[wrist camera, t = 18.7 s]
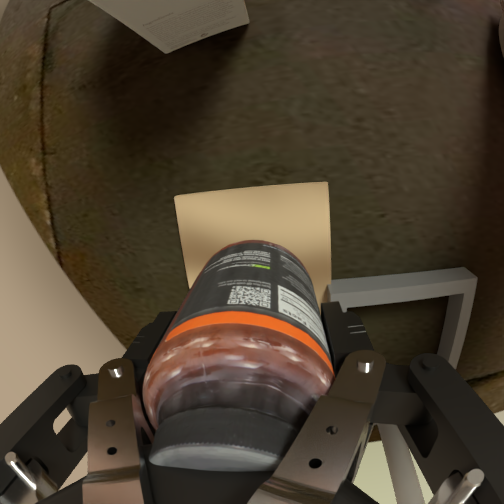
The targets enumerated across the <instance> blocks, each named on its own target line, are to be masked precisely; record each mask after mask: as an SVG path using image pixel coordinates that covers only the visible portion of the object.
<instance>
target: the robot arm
mask: <svg viewBox="0 0 504 504" xmlns="http://www.w3.org/2000/svg"><path fill="white" fill-rule="evenodd" d="M500 3H501V6H502V10H503V13H502V16H501V19H500V21H499V40H500V45H501V50H502V54H503V57H504V0H500ZM176 313H177V311H173V312H160V313H159V314H158V316H157V317H156V319H155V320H154V322H153V323H149V324H148V325H146V326H145V327H144V328H142V329H141V331H140V332H139V334H138V335H137V337H136V338H135V339H134V341H133V343H132V344H131V345H130V347H129V348H128V349H127V351H126V352H125V354H124V355H123V357H122V358H118V359H113V360H111V361H108V362H107V363H105V364H104V365H103V366H102V367H101V368H100V370H99V373H98V374H90V375H83V373H82V371H81V368H80V367H79V366H77V365H65V366H63V367H60V368H59V369H57V370H56V371H55V372H54V373H53V374H51V375H50V376H49V377H48V378H47V379H46V380H45V381H44V382H43V383H42V384H41V385H40V386H39V387H38V388H37V389H36V390H35V391H34V392H33V393H32V394H30V396H28V397H27V398H26V399H25V400H24V401H23V402H22V403H21V404H20V405H19V406H18V407H17V408H16V409H15V410H14V411H13V412H12V413H11V414H10V415H9V416H8V417H7V418H6V419H5V420H4V421H3V422H2V423H1V424H0V504H379V503H378V502H376V501H375V500H373V499H372V498H371V497H370V496H368V495H367V494H366V493H364V492H363V491H362V490H360V489H359V488H358V487H357V486H355V485H354V484H353V482H354V479H355V477H356V474H357V471H358V468H359V465H360V462H361V459H362V457H363V454H364V451H365V448H366V446H367V443H368V441H369V438H370V435H371V432H372V429H373V426H374V423H380V424H393V425H397V427H398V429H399V431H400V433H401V434H402V436H403V438H404V440H405V442H406V443H407V445H408V447H409V449H410V451H411V453H412V454H413V456H414V458H415V460H416V462H417V464H418V466H419V468H420V469H421V471H422V473H423V475H424V477H425V479H426V481H427V483H428V485H429V486H430V489H431V491H432V493H433V494H434V496H433V498H432V499H431V500H430V502H429V503H428V504H504V426H503V425H502V423H501V422H500V421H499V420H498V419H497V417H496V416H495V415H494V414H493V413H492V411H491V410H490V409H489V408H488V407H487V405H486V404H485V403H484V402H483V401H482V399H481V398H480V397H479V396H478V395H477V394H476V393H475V391H474V390H473V389H472V388H471V387H470V386H469V385H468V383H467V382H466V381H465V380H464V379H463V378H462V377H461V375H460V374H459V373H458V372H457V371H456V370H455V369H454V368H453V367H452V365H451V364H450V363H449V362H448V361H447V360H446V359H445V358H443V357H442V356H440V355H437V354H432V353H424V354H420V355H417V356H416V357H414V358H413V359H412V360H411V363H410V366H405V365H393V364H389V363H386V360H385V358H384V357H383V356H382V355H381V354H380V353H378V352H376V351H374V349H373V346H372V344H371V342H370V339H369V337H368V335H367V332H366V330H365V328H364V326H363V323H362V321H361V319H360V317H359V316H358V315H356V314H355V313H354V312H343V311H342V308H341V306H340V303H339V301H334V302H323V303H321V319H322V323H323V327H324V331H325V335H326V339H327V343H328V347H329V352H330V356H331V360H332V364H333V371H334V374H335V381H334V383H333V385H332V387H331V389H330V391H329V393H328V395H325V394H322V395H321V396H320V397H319V399H318V401H317V402H316V404H315V406H314V408H313V410H312V411H311V413H310V415H309V417H308V419H307V420H306V422H305V424H304V425H303V427H302V429H301V431H300V432H299V434H298V436H297V437H296V439H295V441H294V442H293V444H292V446H291V447H290V449H289V450H288V452H287V454H286V455H285V457H284V458H283V460H282V461H281V463H280V465H279V466H278V468H277V469H276V471H209V470H197V469H189V468H179V467H169V466H160V465H155V464H153V463H151V462H150V461H149V455H150V452H151V449H152V446H153V442H154V436H155V433H156V430H155V429H154V427H153V426H152V424H151V423H150V420H149V418H148V416H147V414H146V410H145V407H144V402H143V382H144V377H145V373H146V371H147V368H148V365H149V363H150V361H151V359H152V357H153V355H154V353H155V351H156V349H157V347H158V345H159V343H160V341H161V340H162V338H163V336H164V334H165V333H166V331H167V329H168V327H169V326H170V324H171V322H172V320H173V318H174V317H175V315H176ZM65 408H67V410H68V411H69V413H70V415H71V416H72V418H71V419H70V420H69V421H68V422H67V424H66V425H65V426H64V427H63V428H62V430H61V431H60V432H59V433H58V434H57V435H56V433H55V432H54V430H53V423H54V420H55V419H56V418H57V417H58V416H59V415H60V413H61V412H62V411H63V410H64V409H65ZM87 451H88V474H87V476H85V477H83V478H81V479H80V480H78V481H76V482H74V483H72V484H70V485H69V486H67V487H65V488H63V489H61V490H59V489H60V487H61V486H62V485H63V483H64V482H65V480H66V479H67V478H68V477H69V475H70V474H71V472H72V471H73V470H74V469H75V467H76V466H77V464H78V463H79V462H80V460H81V459H82V458H83V456H84V455H85V454H86V452H87ZM58 490H59V491H58Z"/></svg>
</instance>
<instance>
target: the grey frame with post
mask: <svg viewBox="0 0 504 504" xmlns="http://www.w3.org/2000/svg"><path fill="white" fill-rule="evenodd" d="M477 279H478V278H477V277H476V276H475V275H474V274H472V273H471V272H470V271H469V270H467V269H466V268H465V267H459V268H451V269H442V270H433V271H424V272H414V273H404V274H394V275H384V276H373V277H362V278H350V279H338V280H331V284H327V302H334V301H339V303H340V306H341V308H342V311H343V312H347V308H349V307H359V306H369V305H378V304H387V303H396V302H404V301H412V300H420V299H427V298H435V297H442V296H448V295H449V300H448V306H447V311H446V316H445V321H444V326H443V331H442V335H441V340H440V344H439V348H438V352H437V355H440V356H442V357H443V358H445V359H446V360H447V361H448V362H449V363H450V364H451V365H452V367H453V368H454V369H455V370H456V367H457V363H458V360H459V357H460V353H461V350H462V346H463V343H464V339H465V335H466V331H467V327H468V323H469V319H470V315H471V310H472V306H473V301H474V296H475V290H476V285H477ZM374 425H378V429H379V432H380V436H381V440H382V443H383V447H384V451H385V455H386V458H387V463H388V466H389V470H390V475H391V479H392V483H393V487H394V491H395V496H396V500H397V504H425V501H424V498H423V494H422V491H421V487H420V484H419V480H418V477H417V474H416V470H415V467H414V464H413V461H412V458H411V455H410V451H409V448H408V445H407V443H406V442H405V440H404V438H403V436H402V434H401V433H400V431H399V429H398V427H397V425H393V424H380V423H374Z"/></svg>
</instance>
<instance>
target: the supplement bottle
mask: <svg viewBox="0 0 504 504" xmlns="http://www.w3.org/2000/svg"><path fill="white" fill-rule="evenodd" d="M334 381H335V374H334V371H333V364H332V360H331V356H330V352H329V347H328V343H327V339H326V335H325V331H324V327H323V323H322V319H321V315H320V311H319V307H318V303H317V299H316V295H315V292H314V287H313V284H312V280H311V278H310V276H309V274H308V272H307V270H306V268H305V266H304V265H303V263H302V262H301V261H300V260H299V259H298V258H297V257H296V256H295V255H294V254H293V253H292V252H290V251H289V250H288V249H286V248H284V247H282V246H281V245H278V244H274V243H272V242H268V241H264V240H244V241H239V242H236V243H232V244H229V245H227V246H225V247H224V248H222V249H221V250H219V251H218V252H216V253H215V254H214V255H213V256H212V257H211V258H210V259H209V260H208V261H207V263H206V264H205V266H204V267H203V269H202V271H201V272H200V273H199V275H198V276H197V278H196V280H195V281H194V283H193V285H192V287H191V288H190V290H189V292H188V294H187V296H186V297H185V299H184V301H183V302H182V304H181V306H180V308H179V309H178V311H177V313H176V315H175V317H174V318H173V320H172V322H171V324H170V326H169V327H168V329H167V331H166V333H165V334H164V336H163V338H162V340H161V341H160V343H159V345H158V347H157V349H156V351H155V353H154V355H153V357H152V359H151V361H150V363H149V365H148V368H147V371H146V373H145V377H144V382H143V402H144V407H145V410H146V414H147V416H148V418H149V420H150V423H151V424H152V426H153V427H154V429H155V430H156V433H155V436H154V442H153V446H152V449H151V452H150V455H149V461H150V462H151V463H153V464H155V465H160V466H169V467H179V468H189V469H197V470H209V471H276V469H277V468H278V466H279V465H280V463H281V461H282V460H283V458H284V457H285V455H286V454H287V452H288V450H289V449H290V447H291V446H292V444H293V442H294V441H295V439H296V437H297V436H298V434H299V432H300V431H301V429H302V427H303V425H304V424H305V422H306V420H307V419H308V417H309V415H310V413H311V411H312V410H313V408H314V406H315V404H316V402H317V401H318V399H319V397H320V396H321V395H322V394H325V395H328V393H329V391H330V389H331V387H332V385H333V383H334Z"/></svg>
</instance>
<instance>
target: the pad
mask: <svg viewBox="0 0 504 504" xmlns="http://www.w3.org/2000/svg"><path fill="white" fill-rule="evenodd" d="M174 200H175V207H176V214H177V220H178V226H179V232H180V239H181V244H182V250H183V256H184V262H185V267H186V273H187V278H188V283H189V289H190V288H191V287H192V285H193V283H194V281H195V280H196V278H197V276H198V275H199V273H200V272H201V271H202V269H203V267H204V266H205V264H206V263H207V261H208V260H209V259H210V258H211V257H212V256H213V255H214V254H215V253H216V252H218V251H219V250H221V249H222V248H224V247H225V246H227V245H229V244H232V243H236V242H239V241H244V240H264V241H268V242H272V243H274V244H278V245H281V246H282V247H284V248H286V249H288V250H289V251H290V252H292V253H293V254H294V255H295V256H296V257H297V258H298V259H299V260H300V261H301V262H302V263H303V265H304V266H305V268H306V270H307V272H308V274H309V276H310V278H311V280H312V284H313V287H314V292H315V295H316V299H317V303H318V307H319V311H320V315H321V303H323V302H327V284H331V239H330V213H329V193H328V183H327V182H313V183H298V184H284V185H271V186H259V187H248V188H238V189H228V190H218V191H209V192H201V193H192V194H184V195H177V196H175V197H174Z"/></svg>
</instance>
